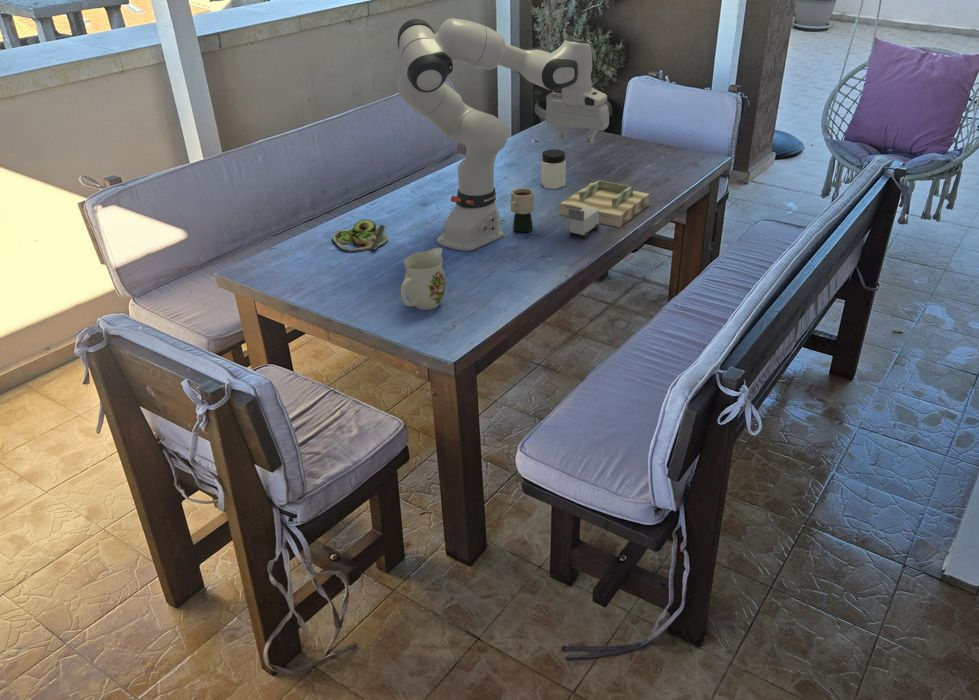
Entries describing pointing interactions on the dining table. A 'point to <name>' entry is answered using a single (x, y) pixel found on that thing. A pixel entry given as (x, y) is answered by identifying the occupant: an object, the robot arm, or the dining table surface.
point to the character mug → (522, 208)
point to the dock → (608, 202)
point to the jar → (553, 169)
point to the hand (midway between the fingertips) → (576, 140)
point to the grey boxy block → (583, 221)
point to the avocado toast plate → (361, 236)
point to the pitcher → (424, 280)
